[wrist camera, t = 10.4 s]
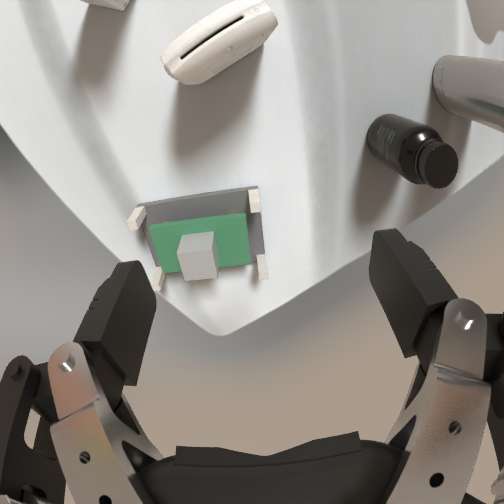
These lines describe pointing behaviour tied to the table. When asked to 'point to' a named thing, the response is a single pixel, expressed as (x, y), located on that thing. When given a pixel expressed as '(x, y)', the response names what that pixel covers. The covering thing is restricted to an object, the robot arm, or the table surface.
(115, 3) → the skincare box
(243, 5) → the white rounded block
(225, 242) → the module board
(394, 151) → the supplement bottle
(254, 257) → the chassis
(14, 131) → the table surface
